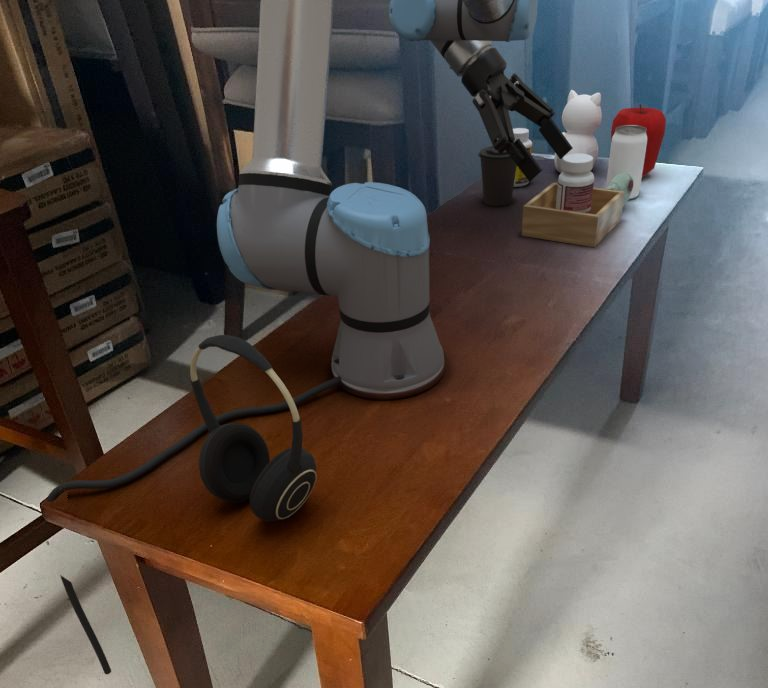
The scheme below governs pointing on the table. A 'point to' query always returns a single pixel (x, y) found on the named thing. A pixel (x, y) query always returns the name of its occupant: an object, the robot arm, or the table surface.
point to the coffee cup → (497, 176)
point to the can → (628, 155)
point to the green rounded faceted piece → (622, 184)
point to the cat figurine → (581, 125)
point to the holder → (572, 217)
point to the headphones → (252, 450)
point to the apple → (654, 132)
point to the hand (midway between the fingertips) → (551, 164)
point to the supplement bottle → (524, 138)
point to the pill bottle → (576, 184)
